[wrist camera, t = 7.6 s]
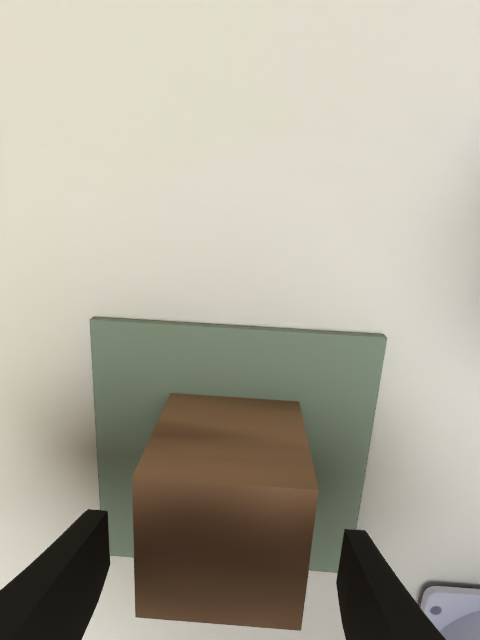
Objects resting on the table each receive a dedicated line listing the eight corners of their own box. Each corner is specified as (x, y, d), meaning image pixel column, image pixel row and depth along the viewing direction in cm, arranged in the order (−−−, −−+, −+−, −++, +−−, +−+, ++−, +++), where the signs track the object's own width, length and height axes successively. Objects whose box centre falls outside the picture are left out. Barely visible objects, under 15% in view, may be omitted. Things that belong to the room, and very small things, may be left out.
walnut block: (287, 508, 17) (300, 630, 12) (170, 500, 17) (135, 617, 12) (299, 401, 15) (318, 490, 10) (170, 393, 15) (131, 476, 11)
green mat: (346, 565, 18) (349, 573, 17) (105, 547, 18) (102, 554, 18) (383, 334, 15) (386, 337, 14) (93, 316, 15) (89, 319, 15)
